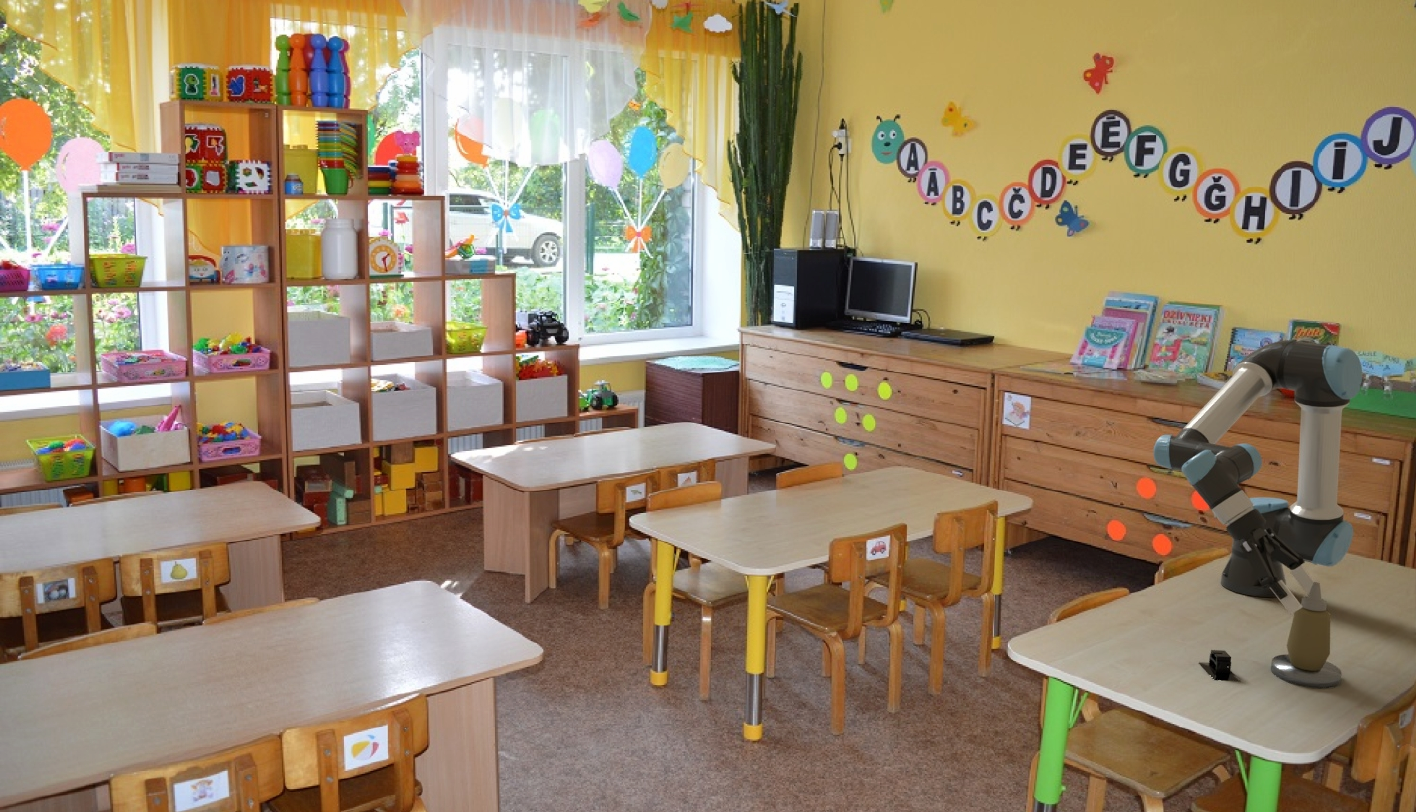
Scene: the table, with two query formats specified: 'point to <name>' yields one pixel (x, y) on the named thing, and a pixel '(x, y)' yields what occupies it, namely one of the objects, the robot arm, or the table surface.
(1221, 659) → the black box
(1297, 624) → the squeeze bottle
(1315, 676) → the cap
